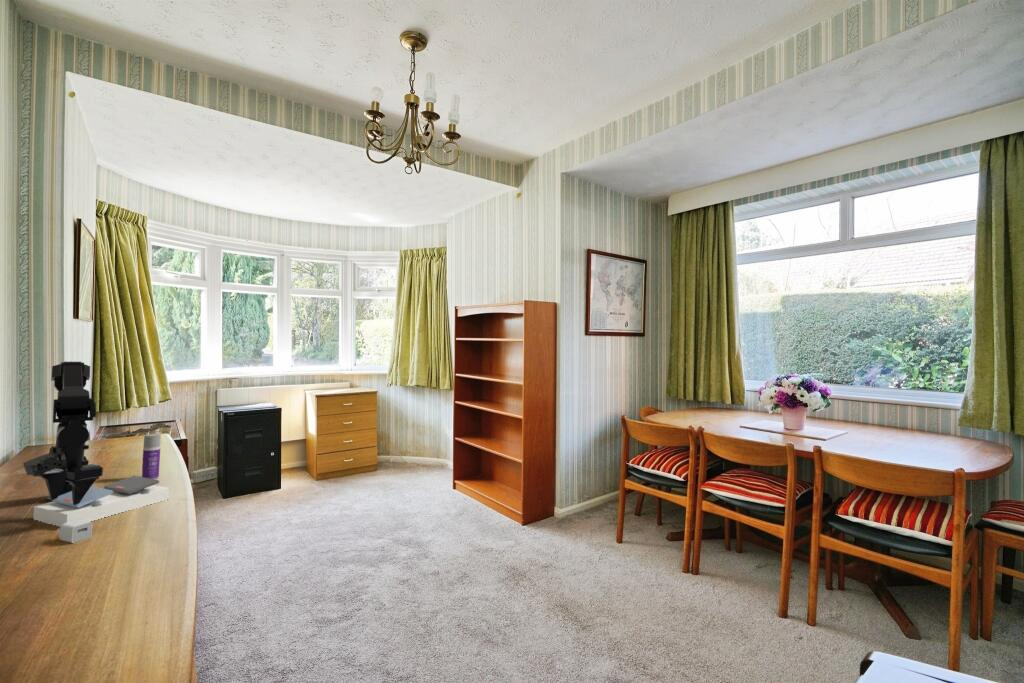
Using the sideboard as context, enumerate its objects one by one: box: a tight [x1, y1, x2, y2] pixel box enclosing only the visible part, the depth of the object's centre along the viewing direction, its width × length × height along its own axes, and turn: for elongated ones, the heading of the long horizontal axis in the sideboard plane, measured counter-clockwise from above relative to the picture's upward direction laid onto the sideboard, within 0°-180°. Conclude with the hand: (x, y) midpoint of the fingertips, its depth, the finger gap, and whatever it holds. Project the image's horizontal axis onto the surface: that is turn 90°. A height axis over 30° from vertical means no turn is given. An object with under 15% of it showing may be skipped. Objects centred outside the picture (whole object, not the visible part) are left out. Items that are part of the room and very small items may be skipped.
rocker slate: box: [51, 485, 113, 508], centre depth 126 cm, size 11×8×2 cm
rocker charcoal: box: [103, 475, 160, 494], centre depth 138 cm, size 11×8×2 cm
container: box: [141, 433, 161, 480], centre depth 161 cm, size 5×5×15 cm
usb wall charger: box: [57, 520, 93, 544], centre depth 112 cm, size 4×7×4 cm, turn 73°
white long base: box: [32, 484, 170, 528], centre depth 132 cm, size 14×25×4 cm, turn 160°
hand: (64, 502), depth 123 cm, fingers open, 9 cm apart
